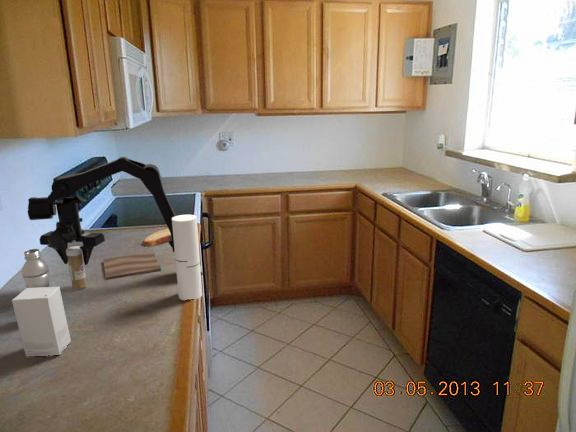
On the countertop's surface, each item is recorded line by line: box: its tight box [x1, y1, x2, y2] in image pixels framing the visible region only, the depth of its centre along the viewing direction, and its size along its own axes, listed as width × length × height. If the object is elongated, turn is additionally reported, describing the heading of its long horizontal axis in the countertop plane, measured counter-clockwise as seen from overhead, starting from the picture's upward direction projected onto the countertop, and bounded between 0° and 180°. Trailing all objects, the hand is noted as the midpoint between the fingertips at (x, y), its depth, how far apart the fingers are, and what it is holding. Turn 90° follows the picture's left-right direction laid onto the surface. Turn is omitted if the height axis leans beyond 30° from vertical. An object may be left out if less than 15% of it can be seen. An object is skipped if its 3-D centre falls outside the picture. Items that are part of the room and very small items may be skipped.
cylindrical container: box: [172, 214, 203, 301], centre depth 128 cm, size 7×7×25 cm
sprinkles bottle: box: [66, 245, 88, 291], centre depth 136 cm, size 5×5×13 cm
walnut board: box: [103, 251, 162, 281], centre depth 154 cm, size 18×18×1 cm
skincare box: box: [11, 286, 72, 357], centre depth 101 cm, size 8×7×16 cm
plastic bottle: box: [21, 248, 51, 288], centre depth 115 cm, size 6×7×20 cm
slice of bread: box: [142, 228, 171, 248], centre depth 183 cm, size 18×18×4 cm
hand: (76, 264), depth 135 cm, fingers open, 7 cm apart
